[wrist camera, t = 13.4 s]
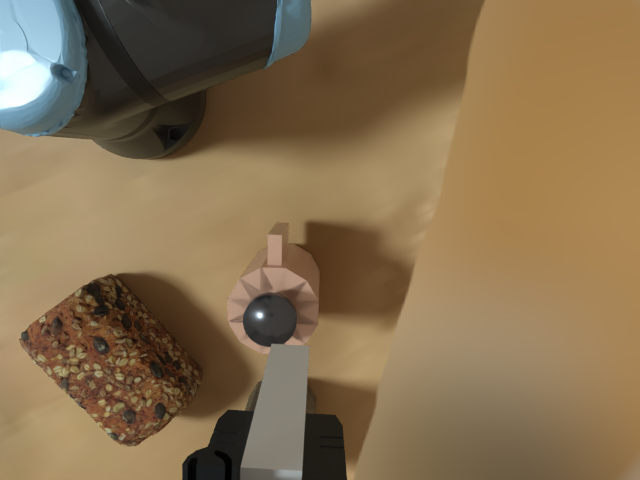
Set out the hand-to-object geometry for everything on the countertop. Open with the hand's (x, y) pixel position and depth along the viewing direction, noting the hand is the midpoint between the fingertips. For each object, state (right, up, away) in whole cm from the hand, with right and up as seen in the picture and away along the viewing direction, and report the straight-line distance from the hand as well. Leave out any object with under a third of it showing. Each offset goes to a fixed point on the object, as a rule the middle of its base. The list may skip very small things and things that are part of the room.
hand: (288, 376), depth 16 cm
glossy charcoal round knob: (-3, 0, +33) cm, 33 cm away
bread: (-23, -8, +38) cm, 46 cm away
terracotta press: (-3, +2, +36) cm, 36 cm away
